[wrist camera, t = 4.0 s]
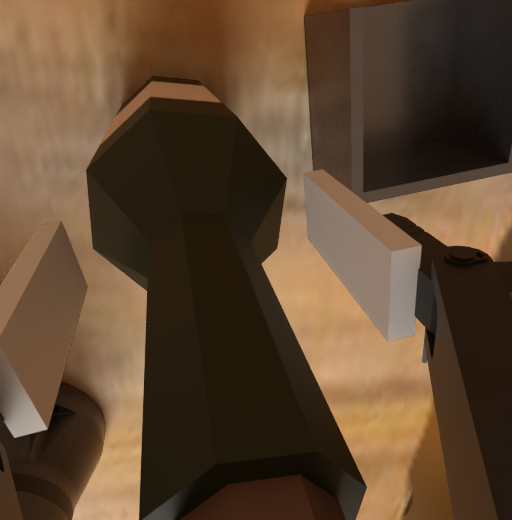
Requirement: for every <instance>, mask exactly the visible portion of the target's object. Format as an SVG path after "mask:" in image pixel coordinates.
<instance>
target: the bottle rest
mask: <svg viewBox="0 0 512 520" xmlns="http://www.w3.org/2000/svg"><path fill="white" fill-rule="evenodd" d="M304 28H305V44H306V61H307V77H308V94H309V110H310V127H311V143H312V159H313V171H317V170H322V169H323V170H324V171H326V172H327V173H328V174H329V175H331V176H332V177H333V178H335V179H336V180H337V181H339V182H340V183H341V184H342V185H344V186H345V187H346V188H348V189H349V190H350V191H352V192H353V193H354V194H356V195H357V196H358V197H359V198H361V199H362V200H363V201H365V202H366V203H369V202H374V201H378V200H383V199H388V198H393V197H397V196H402V195H407V194H412V193H416V192H421V191H426V190H431V189H435V188H440V187H445V186H450V185H454V184H459V183H464V182H469V181H474V180H478V179H483V178H488V177H493V176H497V175H502V174H507V173H512V0H411V1H404V2H397V3H390V4H383V5H377V6H370V7H363V6H362V7H356V8H349V9H343V10H337V11H332V12H326V13H320V14H314V15H308V16H304Z"/></svg>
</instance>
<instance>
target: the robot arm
mask: <svg viewBox="0 0 512 520" xmlns="http://www.w3.org/2000/svg"><path fill="white" fill-rule="evenodd" d="M303 176H304V190H305V203H306V217H307V231H308V239H309V240H310V242H311V243H312V244H313V246H314V247H315V248H316V250H317V251H318V252H319V253H320V255H321V256H322V257H323V259H324V260H325V261H326V262H327V264H328V265H329V266H330V268H331V269H332V270H333V272H334V273H335V274H336V275H337V277H338V278H339V279H340V281H341V282H342V283H343V285H344V286H345V287H346V288H347V290H348V291H349V292H350V294H351V295H352V296H353V297H354V299H355V300H356V301H357V303H358V304H359V305H360V307H361V308H362V309H363V310H364V312H365V313H366V314H367V316H368V317H369V318H370V320H371V321H372V322H373V323H374V325H375V326H376V327H377V329H378V330H379V331H380V333H381V334H382V335H383V336H384V338H385V339H386V340H387V342H390V341H394V340H398V339H402V338H406V337H410V336H414V333H415V321H416V318H417V319H418V320H419V321H420V322H421V323H422V324H423V325H424V326H425V327H426V328H425V338H424V348H423V358H422V362H423V363H427V360H428V366H429V372H430V378H431V384H432V391H433V397H434V403H435V409H436V414H437V421H438V427H439V433H440V439H441V445H442V451H443V457H444V463H445V469H446V475H447V481H448V487H449V494H450V499H451V505H452V512H453V517H454V520H512V261H511V262H510V261H509V262H493V260H492V258H491V257H490V256H489V255H488V254H487V253H485V252H483V251H481V250H479V249H475V248H471V247H465V246H449V247H447V246H446V245H444V244H443V243H442V242H440V241H439V240H437V239H436V238H435V237H433V236H432V235H430V234H429V233H427V232H424V230H423V229H422V228H420V227H419V226H416V224H415V223H413V222H412V221H410V220H409V219H408V218H406V217H403V216H400V215H396V214H393V213H390V214H385V215H382V214H380V213H379V212H378V211H376V210H375V209H374V208H373V207H371V206H370V205H369V204H367V203H366V202H365V201H363V200H362V199H361V198H359V197H358V196H357V195H356V194H354V193H353V192H352V191H350V190H349V189H348V188H346V187H345V186H344V185H342V184H341V183H340V182H339V181H337V180H336V179H335V178H333V177H332V176H331V175H329V174H328V173H327V172H326V171H324V170H323V169H322V170H317V171H312V172H307V173H303ZM87 287H88V286H87V284H86V281H85V279H84V276H83V274H82V271H81V269H80V266H79V264H78V261H77V258H76V256H75V253H74V251H73V248H72V246H71V243H70V241H69V238H68V236H67V233H66V231H65V228H64V226H63V223H62V221H57V222H52V223H47V224H42V225H38V227H37V229H36V230H35V232H34V233H33V235H32V236H31V238H30V239H29V241H28V243H27V244H26V246H25V247H24V249H23V250H22V252H21V253H20V255H19V257H18V258H17V260H16V261H15V263H14V264H13V266H12V268H11V269H10V271H9V272H8V274H7V275H6V277H5V278H4V280H3V282H2V283H1V285H0V520H72V517H73V512H74V508H75V506H76V504H77V502H78V501H79V499H80V497H81V495H82V493H83V491H84V489H85V487H86V485H87V483H88V482H89V480H90V478H91V475H92V473H93V471H94V469H95V468H96V466H97V464H98V462H99V460H100V458H101V454H102V451H103V445H104V437H105V421H104V418H103V415H102V413H101V411H100V409H99V408H98V406H97V405H96V404H95V403H94V402H93V401H92V400H91V399H90V398H89V397H88V396H87V395H85V394H84V393H83V392H81V391H79V390H78V389H76V388H74V387H72V386H70V385H67V384H65V383H62V382H61V380H62V376H63V373H64V369H65V366H66V362H67V359H68V355H69V351H70V348H71V344H72V341H73V337H74V334H75V330H76V326H77V323H78V319H79V316H80V312H81V309H82V305H83V301H84V298H85V294H86V291H87Z"/></svg>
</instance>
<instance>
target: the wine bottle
mask: <svg viewBox="0 0 512 520" xmlns="http://www.w3.org/2000/svg"><path fill="white" fill-rule="evenodd" d="M86 174H87V185H88V197H89V208H90V220H91V231H92V243H93V249H94V250H95V251H97V252H98V253H99V254H101V255H102V256H103V257H104V258H106V259H107V260H108V261H109V262H111V263H112V264H113V265H115V266H116V267H117V268H118V269H120V270H121V271H122V272H123V273H125V274H126V275H127V276H129V277H130V278H131V279H132V280H134V281H135V282H136V283H137V284H139V285H140V286H141V287H143V288H144V289H145V290H146V291H147V316H146V344H145V371H144V399H143V427H142V455H141V483H140V511H139V520H356V517H357V514H358V511H359V508H360V506H361V503H362V500H363V497H364V494H365V491H366V488H367V487H366V484H365V482H364V480H363V478H362V476H361V474H360V472H359V470H358V468H357V465H356V463H355V461H354V459H353V457H352V455H351V453H350V451H349V449H348V446H347V444H346V442H345V440H344V438H343V436H342V434H341V432H340V429H339V427H338V425H337V423H336V421H335V419H334V417H333V415H332V413H331V410H330V408H329V406H328V404H327V402H326V400H325V398H324V396H323V394H322V391H321V389H320V387H319V385H318V383H317V381H316V379H315V377H314V374H313V372H312V370H311V368H310V366H309V364H308V362H307V360H306V358H305V355H304V353H303V351H302V349H301V347H300V345H299V343H298V341H297V339H296V336H295V334H294V332H293V330H292V328H291V326H290V324H289V322H288V320H287V317H286V315H285V313H284V311H283V309H282V307H281V305H280V303H279V300H278V298H277V296H276V294H275V292H274V290H273V288H272V286H271V284H270V281H269V279H268V277H267V275H266V273H265V271H264V269H263V267H262V265H261V264H262V263H263V262H264V261H265V260H266V259H267V258H268V257H269V256H270V255H271V254H272V253H273V252H274V251H275V250H276V249H277V246H278V239H279V232H280V225H281V217H282V210H283V203H284V196H285V188H286V181H287V178H286V177H285V175H284V174H283V173H282V172H281V171H280V169H279V168H278V167H277V166H276V164H275V163H274V162H273V161H272V159H271V158H270V157H269V156H268V154H267V153H266V152H265V151H264V149H263V148H262V147H261V146H260V144H259V143H258V142H257V141H256V139H255V138H254V137H253V136H252V135H251V133H250V132H249V131H248V130H247V128H246V127H245V126H244V125H243V123H242V122H241V121H240V120H239V118H238V117H237V116H236V115H235V114H234V113H233V112H231V111H230V110H229V109H228V108H227V107H226V106H225V105H224V104H223V103H222V102H221V101H220V100H218V99H217V98H216V97H215V96H214V95H213V94H212V93H211V92H210V91H209V90H208V89H207V88H205V87H204V86H203V85H202V84H201V83H200V82H199V81H197V80H187V79H176V78H166V77H155V76H152V77H151V78H150V79H149V80H148V81H147V82H146V83H145V84H144V85H143V86H142V87H141V88H140V89H139V90H138V91H137V92H136V93H135V94H134V95H133V96H132V97H131V98H130V99H129V100H128V101H127V102H126V103H125V104H124V105H123V106H121V108H120V109H119V111H118V113H117V115H116V117H115V118H114V120H113V122H112V124H111V126H110V128H109V129H108V131H107V133H106V135H105V137H104V139H103V140H102V142H101V144H100V146H99V148H98V150H97V151H96V153H95V155H94V157H93V159H92V160H91V162H90V164H89V166H88V168H87V170H86Z"/></svg>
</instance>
